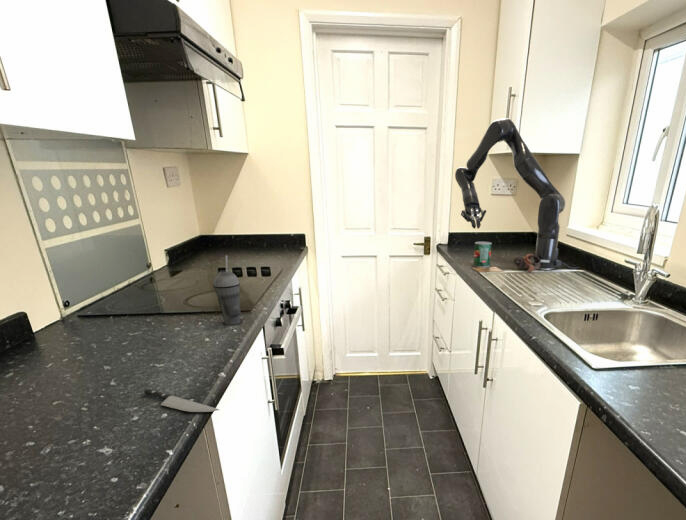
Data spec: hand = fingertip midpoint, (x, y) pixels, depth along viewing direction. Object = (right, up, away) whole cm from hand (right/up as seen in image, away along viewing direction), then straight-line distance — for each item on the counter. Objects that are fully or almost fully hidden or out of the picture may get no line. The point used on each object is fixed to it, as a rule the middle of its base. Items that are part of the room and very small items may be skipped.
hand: (476, 227), depth 202 cm
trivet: (+3, -23, -11) cm, 25 cm away
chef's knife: (-81, -69, -123) cm, 163 cm away
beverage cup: (-89, -51, -79) cm, 129 cm away
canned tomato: (+2, -20, -3) cm, 20 cm away
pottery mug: (+21, -23, -12) cm, 33 cm away
